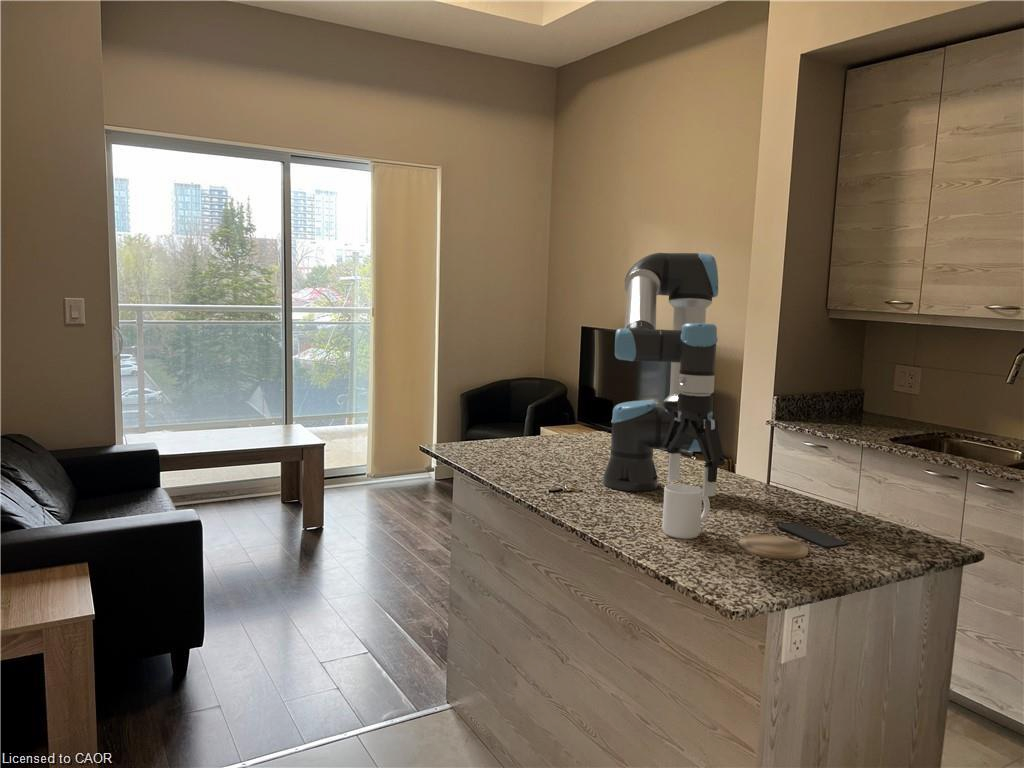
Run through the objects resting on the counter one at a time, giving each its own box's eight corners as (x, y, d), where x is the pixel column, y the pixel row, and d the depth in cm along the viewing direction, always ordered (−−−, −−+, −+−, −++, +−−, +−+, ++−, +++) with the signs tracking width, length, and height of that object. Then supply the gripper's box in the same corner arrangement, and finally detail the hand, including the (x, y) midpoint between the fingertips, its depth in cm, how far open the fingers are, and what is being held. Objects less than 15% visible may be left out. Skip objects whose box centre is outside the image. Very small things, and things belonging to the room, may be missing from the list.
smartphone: (826, 547, 157) (774, 524, 171) (825, 551, 158) (774, 528, 171) (851, 543, 160) (798, 521, 174) (850, 547, 161) (798, 525, 174)
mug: (696, 523, 172) (698, 480, 171) (720, 534, 165) (723, 489, 164) (654, 529, 167) (656, 485, 166) (678, 541, 160) (680, 495, 158)
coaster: (725, 540, 161) (725, 537, 161) (777, 534, 166) (777, 531, 166) (768, 562, 148) (768, 559, 148) (823, 555, 153) (823, 552, 153)
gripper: (650, 387, 172) (646, 476, 175) (715, 401, 149) (709, 504, 151) (678, 386, 175) (673, 474, 177) (746, 400, 152) (739, 501, 154)
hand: (690, 488), depth 164 cm, fingers open, 13 cm apart
